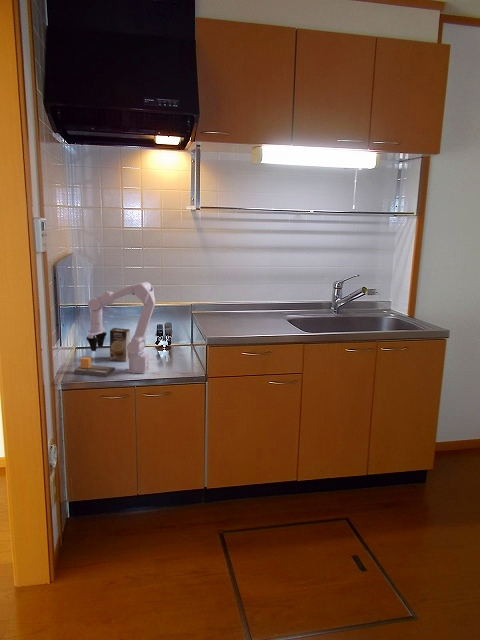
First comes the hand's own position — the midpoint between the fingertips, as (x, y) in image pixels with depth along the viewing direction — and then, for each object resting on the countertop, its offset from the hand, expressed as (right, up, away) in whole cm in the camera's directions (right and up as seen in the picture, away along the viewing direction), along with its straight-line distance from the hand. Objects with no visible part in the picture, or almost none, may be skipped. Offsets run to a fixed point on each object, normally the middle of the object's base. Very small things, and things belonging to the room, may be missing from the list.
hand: (97, 348), depth 250 cm
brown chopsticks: (+2, -10, 0) cm, 10 cm away
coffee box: (+7, -7, +16) cm, 19 cm away
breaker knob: (-4, -8, -6) cm, 11 cm away
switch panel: (0, -11, -7) cm, 13 cm away
